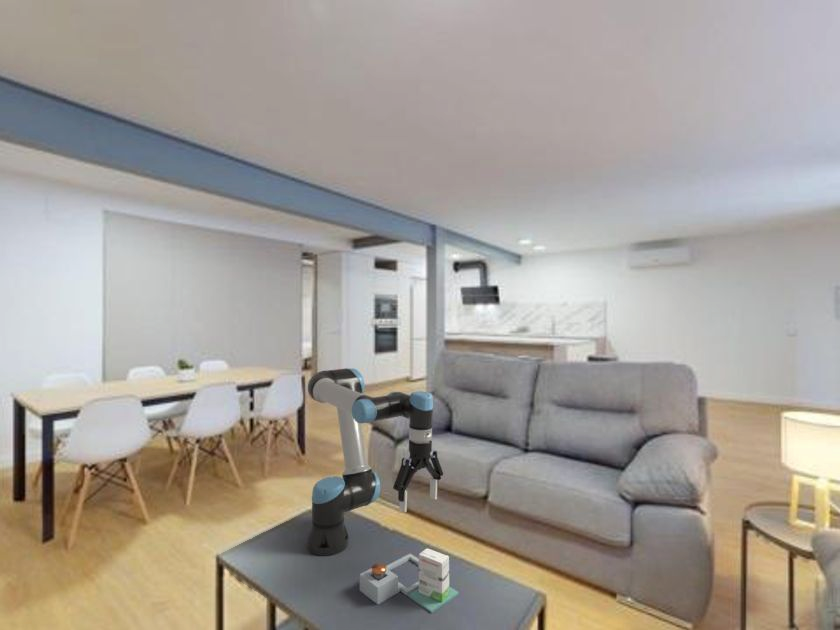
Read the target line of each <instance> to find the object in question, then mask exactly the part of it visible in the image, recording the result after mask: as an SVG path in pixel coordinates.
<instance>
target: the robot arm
mask: <svg viewBox="0 0 840 630" xmlns="http://www.w3.org/2000/svg"><path fill="white" fill-rule="evenodd" d="M365 385H366V383H365V380H364V377H363V375H362V373H361V372H360V371H359V370H358V369H356V368H348V367H346V368H340V369H338V368H337V369H329V370H327V369H326V370H321V371H317V372H316V373H315V374H314V375H312V376H311V378H310V379H309V380H308V383H307V393H308V394H309V395H308V396H310V398H311V399H313V400H314V401H315V402H318V403H319V404H326V403H327V404H329V405H331V406H332V407H333V406H334V407H336V410H337V411H336V412H337V418H338V425H339V433H340V440H341V447H342V453H343V461H344V470H343V472H342V474H341V475H342V476H328V477H325V478H322V479H319V481H317V482H316V483H315V484H314V485H313V487H312V494H311V528H310V530H309V532H308V533H309V534H308V537H307V541H306V549H307V551H308V552H310V553H311V554H313V555H317V556H321V557H322V556H324V557H325V556H331V555H336V554H339V553H341V552H343V551H344V550H346V549H347V548H348V546H349V543H350V541H349V540H350V539H349V538H350V537H349V533H348V530H347V527H346V524H345V513H347V512H350V511H354V510H357V509H359V508H362V507H366V506H368V505H370V504H372V503H375V502H376V501H377V499H378V498H379V496H380V493H381V481H380V477H378V474H377V473H376V471H373V469H372V467H371V466H370V465H369V464H368V463H367V462H368V461H367V457H366V448H365V441H364V437H363V436H364V435H363V429H362V424H369V423H373V422H379V421H383V420H387V419H393V418H398V417H403V418H406V419H409V423H408V425H409V429H408V430H409V431H408V439H409V441H408V452H409V458H407V457H406V458H405V457H401V465H400V467H399V471H398V473H397V476H396V478H395V481H394V484H393V487H392V489H393V490H394V491H396V492H397V494H398V497H397V499H398V502H399V505H398V506H399V509H398V510H400V511H401V512H403V513H407V511H408V509H407V508H408V503H407V502H408V491H407V490H406V489H407V488H408V486H409V484H410V483H411V481H412V479H413V477H414V475H415V474H416V473H418V471H420V470H421V469H425V468H426V470H427V472H428V473H429V474H430V476H431V477H430V479H429V497H430V498H431V499H433V500H437V499H438V488H439V481H441V479H442V477H443V475H444V472H443V471H444V470H443V469H442V467H441V463H440V459H439V458H438V451H436V450H434V449H433V448H432V447H433V443H432V439H433V412H434V400H433V399H434V398H433V394H432V393H430V392H427V391H419V390H418V391H413V392H411V393H410V394H407V393H404V392H401V391H391V392H390V393H389V394H387V395H381V396H376V397H374V396H373V397H372V396H370V395H367V394H364V392H365V388H366V387H365Z"/></svg>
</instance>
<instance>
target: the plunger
mask: <svg viewBox="0 0 840 630" xmlns="http://www.w3.org/2000/svg"><path fill="white" fill-rule="evenodd" d="M386 566H387V565H386V564H384V563H382V562H378V563H374V564H373V565H372V566H371V568H372V573H373V574H374V579H376V580H377V581H379V580H381V579H383V578H384V573H385V572H386Z"/></svg>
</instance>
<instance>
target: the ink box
mask: <svg viewBox="0 0 840 630" xmlns="http://www.w3.org/2000/svg"><path fill="white" fill-rule="evenodd" d="M418 559H419V565H418V581H419V593H421V594H424V595H426V596H428V597H431V598H433V599H435V600H438V601H440V602H443V601H444V599H445V598H446V597H447V596H448V595H449V587H450V556H449V555H446V554H443V553H441V552H439V551H435V550H433V549H430V548H425V549H424V550H422V551H421V552H420V553H419V554H418Z"/></svg>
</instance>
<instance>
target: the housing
mask: <svg viewBox="0 0 840 630" xmlns="http://www.w3.org/2000/svg"><path fill="white" fill-rule="evenodd" d="M409 561H411V562H412V563H414V564H416V565H417V566H419V557H417V556H415V555H413V554H412V553H409V554H406V555H404V556H402V557H400V558H399V559H397V560H395V561H393V562H392V563H390V564H387V565H386V572H385V573H384V578H383V579H381V580H379V581H377V580H376V579H374V574H373V573H372V567H371V568H369V569H367V570H365V571H364V572H361V573H360V574H359V591H360V592H361V593H362V594H364V595H365V596H366V597H368V599H370V600H371V601H372V602H373V603H375V604H376V605H380V604H382V603H383V602H385V601H386V600H388V599H389V598H392V597H393V596H395V595H396V594H398V593H400V592H401V593H403V594H404V595H405V596H408V594H410V593H412V592H413V591H415V590H417V589H418V588H419V580H418V581H416V582H415V583H413V584H412V585H410V586H409V587H406V586H405V585H403V583H401V582H399V576H398V575H397V574H396V573H394V572H392V571H391V570H394V569H395V568H397V567H399V566H401V565H402V564H404V563H406V562H409Z"/></svg>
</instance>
